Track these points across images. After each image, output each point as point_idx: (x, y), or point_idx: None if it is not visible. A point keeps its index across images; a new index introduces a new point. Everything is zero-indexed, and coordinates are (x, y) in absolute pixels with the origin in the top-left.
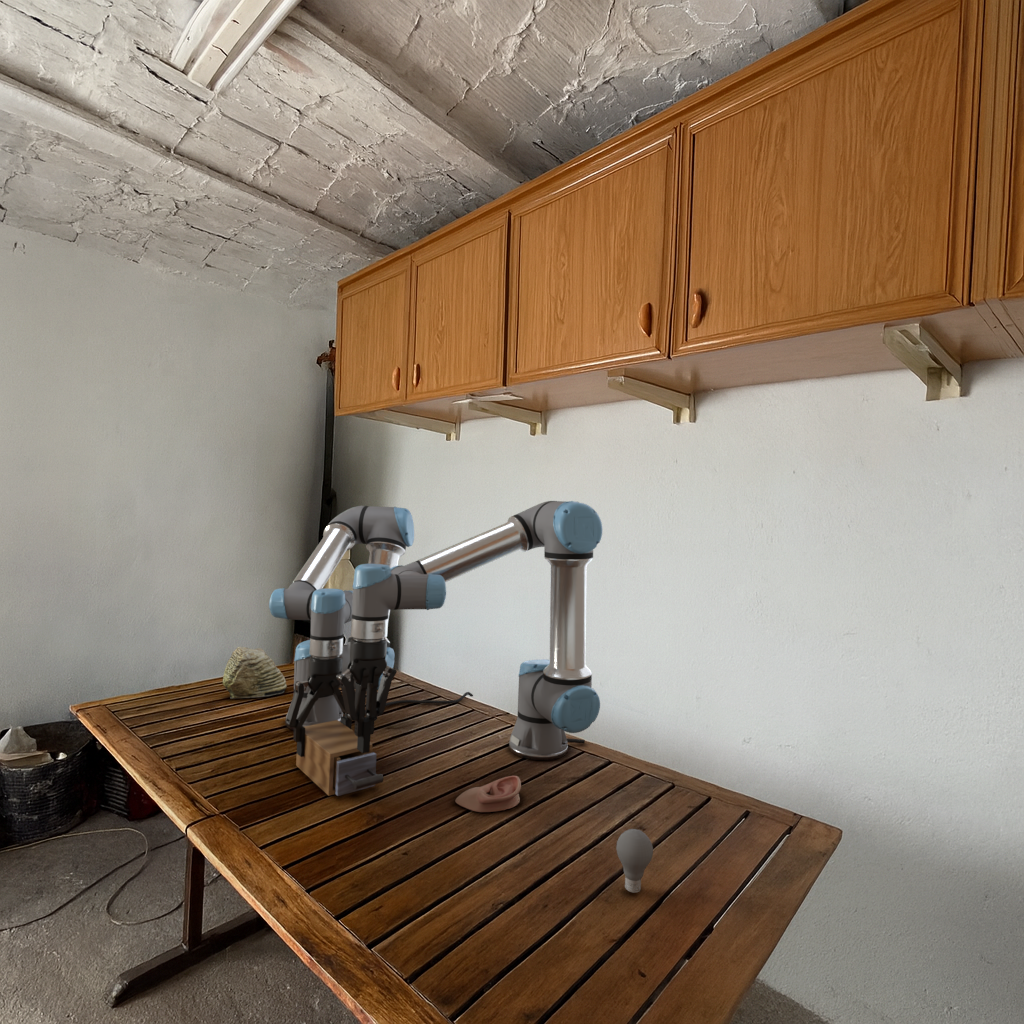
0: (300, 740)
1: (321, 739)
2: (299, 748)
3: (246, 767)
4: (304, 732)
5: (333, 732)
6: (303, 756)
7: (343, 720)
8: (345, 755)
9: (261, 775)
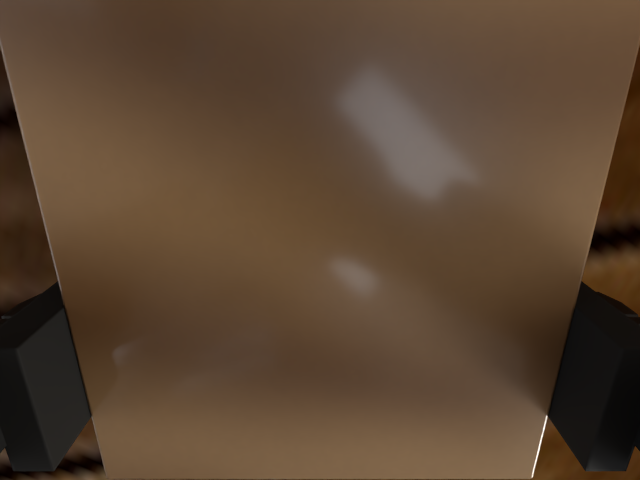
0: None
1: (535, 5)
2: None
3: None
4: (596, 316)
5: (277, 169)
6: None
7: (50, 386)
8: None
9: (624, 281)
